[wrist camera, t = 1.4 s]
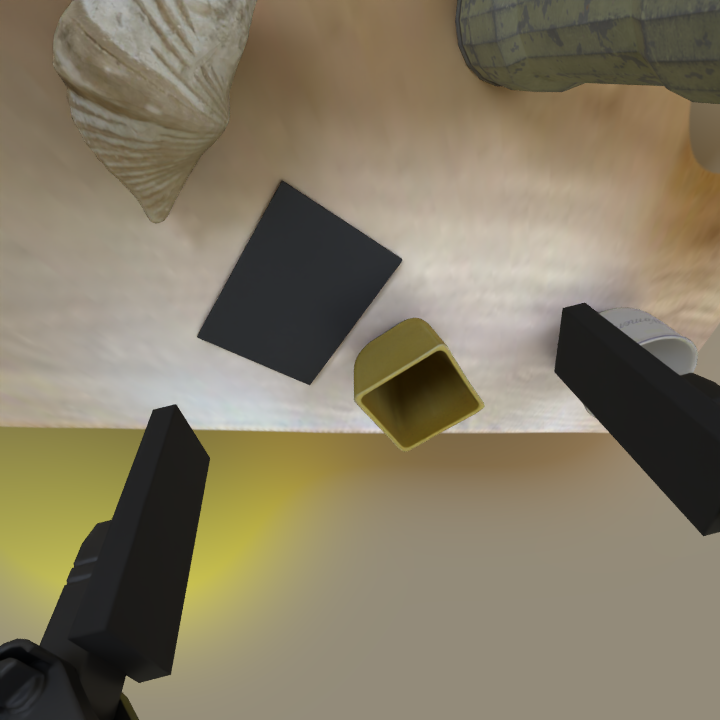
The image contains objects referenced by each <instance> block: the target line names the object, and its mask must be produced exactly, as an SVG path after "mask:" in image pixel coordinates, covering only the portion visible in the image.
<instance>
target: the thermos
mask: <svg viewBox="0 0 720 720" xmlns="http://www.w3.org/2000/svg"><path fill="white" fill-rule="evenodd" d="M455 23H456V30H457V38H458V45H459V48H460V50H461V52H462V55H463V57H464V59H465V62H466V64H467V66H468V67H469V68H470V69H471V70H472V71H473V72H474V73H475V74H476V75H477V76H478V77H479V79H481V80H483V81H486V82H488V83H490V84H492V85H495V86H504V87H506V88H508V89H510V90H519V91H532V92H563V91H566V90H569V89H571V88H574V87H576V86H579V85H581V84H584V83H600V84H627V85H653V86H665V87H666V88H667V89H668V90H670V91H672V92H674V93H676V94H678V95H680V96H682V97H684V98H686V99H688V100H690V101H692V102H698V103H712V104H720V0H457V10H456V20H455Z"/></svg>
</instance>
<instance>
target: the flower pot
mask: <svg viewBox="0 0 720 720" xmlns="http://www.w3.org/2000/svg"><path fill="white" fill-rule="evenodd" d="M354 400H355V402H356V403H357V405H358V406H359V407H360V408H361V409H362V410H363V411H364V412H365V413H366V414H367V415H368V416H369V417H370V418H371V419H372V420H373V421H374V422H375V424H376V425H377V426H378V427H379V428H380V429H381V430H382V431H383V432H384V433H385V434H386V435H387V436H388V437H389V438H390V439H391V441H393V443H394V444H395V445H396V446H397V447H398V448H399V449H400V450H402V451H404V452H407V451H409V450H411V449H413V448H414V447H416V446H418V445H420V444H422V443H423V442H425V441H427V440H428V439H430V438H432V437H434V436H436V435H438V434H439V433H441V432H443V431H445V430H447V429H448V428H450V427H452V426H454V425H456V424H458V423H460V422H461V421H463V420H465V419H467V418H469V417H470V416H472V415H474V414H476V413H477V412H479V411H480V410H481V409H483V408H484V406H485V405H484V402H483V401H482V400H481V398H480V397H479V395H478V394H477V393H476V391H475V390H474V388H473V387H472V385H471V384H470V382H469V381H468V379H467V378H466V376H465V375H464V373H463V372H462V370H461V368H460V367H459V365H458V363H457V362H456V360H455V359H454V357H453V355H452V354H451V352H450V350H449V349H448V347H447V345H446V344H445V343H444V342H443V341H442V339H441V338H440V337H439V336H438V335H437V333H436V332H435V331H434V330H433V329H432V327H431V326H430V325H429V324H428V323H427V322H425V321H424V320H422V319H419V318H410V319H407V320H404V321H403V322H401V323H400V324H398V325H396V326H395V327H393V328H392V329H390V330H389V331H387V332H386V333H384V334H382V335H381V336H379V337H378V338H376V339H374V340H373V341H371V342H370V343H369V344H367V345H366V346H365V347H364V348H363V349H362V351H361V352H360V353H359V355H358V357H357V359H356V361H355V365H354Z"/></svg>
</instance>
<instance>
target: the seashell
mask: <svg viewBox="0 0 720 720" xmlns="http://www.w3.org/2000/svg"><path fill="white" fill-rule="evenodd" d="M256 2H257V0H73V1H72V2H71V4H70V5H69V6H68V7H67V9H66V10H65V11H64V13H63V14H62V16H61V17H60V20H59V22H58V25H57V28H56V31H55V34H54V41H53V53H54V58H53V65H54V68H55V70H56V71H57V73H58V75H59V76H60V77H61V79H62V80H63V82H64V83H65V85H66V86H67V99H68V102H69V105H70V107H71V113H72V119H73V121H74V123H75V124H76V126H77V128H78V129H79V132H80V134H81V136H82V138H83V139H84V141H85V142H86V144H87V145H88V146H89V147H90V148H91V149H92V150H93V152H94V153H95V155H96V157H97V159H98V160H99V161H101V162H102V163H103V164H104V165H105V167H106V168H107V169H108V171H109V172H111V173H112V174H113V175H114V176H115V177H116V178H117V179H118V180H119V181H120V182H121V183H122V184H123V185H124V186H125V187H126V188H127V189H128V190H129V191H130V192H131V193H132V194H133V195H134V196H135V197H136V198H137V200H138V201H139V203H140V205H141V206H142V208H143V210H144V212H145V214H146V215H147V217H148V218H149V220H150V221H151V222H153V223H160V222H162V221H164V220H165V219H166V217H167V216H168V215H169V212H170V210H171V208H172V206H173V204H174V201H175V200H176V198H177V197H178V195H179V192H180V191H181V189H182V188H183V186H184V184H185V182H186V180H187V178H188V176H189V175H190V173H191V172H192V170H193V168H194V167H195V165H196V163H197V162H198V160H199V158H200V157H201V155H202V154H203V153H204V152H205V151H206V150H207V149H208V148H209V147H210V146H211V145H212V144H213V143H214V142H215V141H216V140H217V139H218V138H219V137H220V136H221V135H222V133H223V132H224V130H225V128H226V126H227V124H228V122H229V118H230V98H229V94H230V88H231V85H232V81H233V78H234V74H235V71H236V68H237V66H238V63H239V61H240V58H241V56H242V53H243V50H244V48H245V45H246V42H247V39H248V35H249V28H250V25H251V21H252V16H253V11H254V8H255V5H256Z"/></svg>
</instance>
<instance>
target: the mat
mask: <svg viewBox="0 0 720 720" xmlns="http://www.w3.org/2000/svg"><path fill="white" fill-rule="evenodd" d="M401 262H402V259H401V258H400V257H398V256H397V255H395V254H394V253H392V252H391V251H389V250H388V249H386V248H385V247H383V246H381V245H380V244H378V243H377V242H375V241H374V240H372V239H371V238H369V237H368V236H366V235H365V234H363V233H362V232H360V231H359V230H357V229H356V228H354V227H353V226H351V225H349V224H348V223H346V222H345V221H343V220H342V219H340V218H339V217H337V216H336V215H334V214H333V213H331V212H330V211H328V210H327V209H325V208H324V207H322V206H320V205H319V204H317V203H316V202H314V201H313V200H311V199H310V198H308V197H307V196H305V195H304V194H302V193H301V192H299V191H298V190H296V189H295V188H293V187H292V186H290V185H288V184H287V183H285V182H284V181H281V183H280V185H279V187H278V189H277V190H276V192H275V194H274V196H273V198H272V200H271V201H270V203H269V205H268V207H267V209H266V211H265V213H264V214H263V216H262V218H261V220H260V222H259V224H258V225H257V227H256V229H255V231H254V233H253V235H252V236H251V238H250V240H249V242H248V244H247V246H246V247H245V249H244V251H243V253H242V255H241V257H240V258H239V260H238V262H237V264H236V266H235V268H234V270H233V271H232V273H231V275H230V277H229V279H228V281H227V282H226V284H225V286H224V288H223V290H222V292H221V293H220V295H219V297H218V299H217V301H216V303H215V304H214V306H213V308H212V310H211V312H210V314H209V316H208V317H207V319H206V321H205V323H204V325H203V327H202V328H201V330H200V332H199V334H198V336H197V337H198V338H200V339H202V340H205V341H207V342H209V343H212V344H214V345H217V346H219V347H221V348H224V349H226V350H228V351H231V352H233V353H235V354H238V355H240V356H242V357H245V358H247V359H249V360H252V361H254V362H256V363H259V364H261V365H264V366H266V367H268V368H271V369H273V370H275V371H278V372H280V373H282V374H285V375H287V376H289V377H292V378H294V379H296V380H299V381H301V382H304V383H306V384H308V385H310V384H311V383H312V382H313V380H314V379H315V378H316V376H317V375H318V373H319V372H320V371H321V369H322V368H323V367H324V365H325V364H326V363H327V361H328V360H329V359H330V357H331V356H332V355H333V353H334V352H335V351H336V349H337V348H338V347H339V345H340V344H341V343H342V341H343V340H344V338H345V337H346V336H347V334H348V333H349V332H350V330H351V329H352V328H353V326H354V325H355V324H356V322H357V321H358V320H359V318H360V317H361V316H362V314H363V313H364V312H365V310H366V309H367V307H368V306H369V305H370V303H371V302H372V301H373V299H374V298H375V297H376V295H377V294H378V293H379V291H380V290H381V289H382V287H383V286H384V285H385V283H386V282H387V281H388V279H389V278H390V277H391V275H392V274H393V272H394V271H395V270H396V268H397V267H398V266H399V264H400V263H401Z"/></svg>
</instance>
